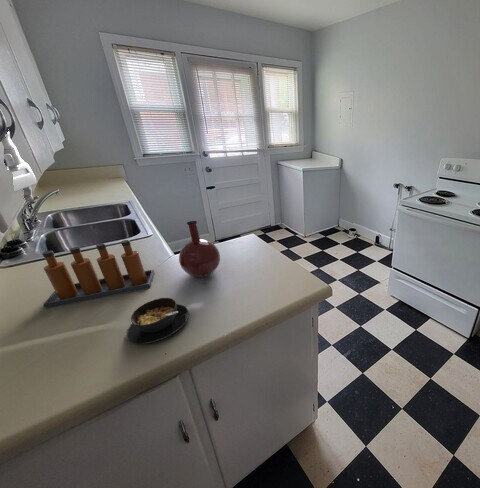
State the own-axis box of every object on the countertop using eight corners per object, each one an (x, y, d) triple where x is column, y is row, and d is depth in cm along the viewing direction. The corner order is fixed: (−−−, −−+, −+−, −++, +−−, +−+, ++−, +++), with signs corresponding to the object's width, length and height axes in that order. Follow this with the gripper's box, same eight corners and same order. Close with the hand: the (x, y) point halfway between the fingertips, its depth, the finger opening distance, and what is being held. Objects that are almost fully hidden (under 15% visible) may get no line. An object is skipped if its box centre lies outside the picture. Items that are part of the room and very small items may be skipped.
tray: (46, 310, 80) (43, 304, 79) (61, 291, 89) (58, 286, 88) (150, 289, 89) (149, 283, 89) (155, 274, 98) (153, 269, 97)
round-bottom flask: (223, 263, 105) (213, 214, 97) (222, 280, 94) (211, 226, 85) (186, 268, 102) (173, 218, 93) (181, 287, 90) (165, 232, 82)
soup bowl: (180, 302, 83) (174, 281, 80) (199, 328, 72) (193, 306, 69) (122, 325, 74) (113, 303, 71) (134, 359, 63) (124, 335, 60)
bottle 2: (107, 291, 87) (88, 249, 81) (111, 284, 91) (93, 243, 85) (123, 288, 89) (107, 246, 82) (127, 281, 93) (111, 240, 86)
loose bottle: (56, 301, 83) (33, 257, 76) (63, 293, 87) (41, 250, 80) (75, 298, 84) (53, 254, 78) (80, 290, 88) (60, 247, 82)
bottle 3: (130, 287, 89) (114, 245, 83) (133, 280, 93) (118, 239, 87) (146, 284, 91) (132, 242, 85) (148, 277, 95) (135, 237, 88)
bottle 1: (82, 296, 85) (61, 252, 79) (87, 289, 89) (68, 246, 82) (99, 293, 87) (80, 250, 80) (104, 285, 90) (86, 244, 84)
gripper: (7, 155, 88) (26, 197, 94) (-42, 164, 71) (-14, 214, 76) (32, 155, 90) (49, 195, 96) (-9, 163, 73) (15, 212, 78)
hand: (21, 204), depth 86 cm, fingers open, 8 cm apart
